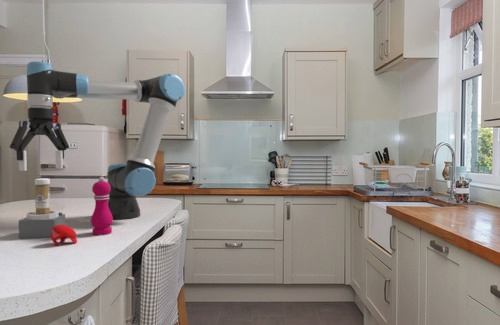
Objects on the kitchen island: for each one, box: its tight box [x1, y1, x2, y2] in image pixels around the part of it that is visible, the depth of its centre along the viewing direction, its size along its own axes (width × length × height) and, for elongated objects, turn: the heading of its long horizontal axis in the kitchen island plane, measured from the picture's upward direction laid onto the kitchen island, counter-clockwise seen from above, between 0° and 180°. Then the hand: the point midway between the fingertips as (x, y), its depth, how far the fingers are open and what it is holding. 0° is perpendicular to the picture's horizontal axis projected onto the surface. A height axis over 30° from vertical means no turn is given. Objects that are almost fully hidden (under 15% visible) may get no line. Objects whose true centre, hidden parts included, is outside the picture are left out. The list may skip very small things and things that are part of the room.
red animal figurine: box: [50, 224, 78, 247], centre depth 113 cm, size 8×6×6 cm
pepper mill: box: [90, 176, 114, 236], centre depth 126 cm, size 7×7×20 cm
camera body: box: [18, 210, 66, 239], centre depth 125 cm, size 11×10×8 cm
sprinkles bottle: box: [34, 177, 51, 215], centre depth 125 cm, size 5×5×13 cm
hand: (42, 169), depth 125 cm, fingers open, 13 cm apart
